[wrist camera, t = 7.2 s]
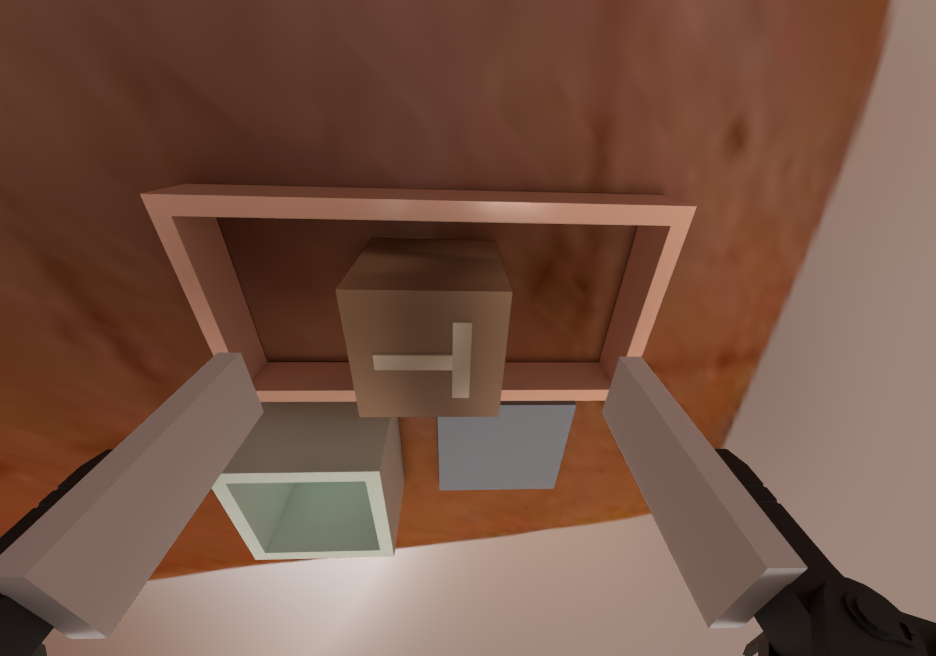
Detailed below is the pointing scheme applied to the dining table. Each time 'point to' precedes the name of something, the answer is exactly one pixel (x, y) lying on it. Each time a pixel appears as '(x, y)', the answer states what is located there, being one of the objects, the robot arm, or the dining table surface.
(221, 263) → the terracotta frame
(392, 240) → the letter cube
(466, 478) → the slate coaster
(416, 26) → the dining table surface
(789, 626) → the robot arm
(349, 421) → the mint green open box
